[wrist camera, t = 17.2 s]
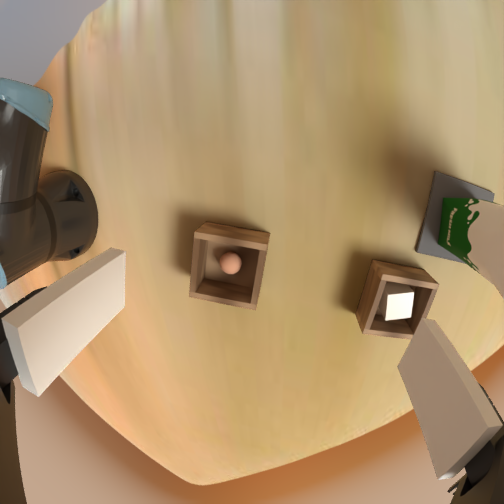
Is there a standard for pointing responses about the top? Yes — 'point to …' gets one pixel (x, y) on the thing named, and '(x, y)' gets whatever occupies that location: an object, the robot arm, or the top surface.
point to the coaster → (432, 220)
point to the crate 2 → (372, 292)
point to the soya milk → (475, 236)
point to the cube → (396, 301)
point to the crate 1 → (214, 278)
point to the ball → (230, 262)
